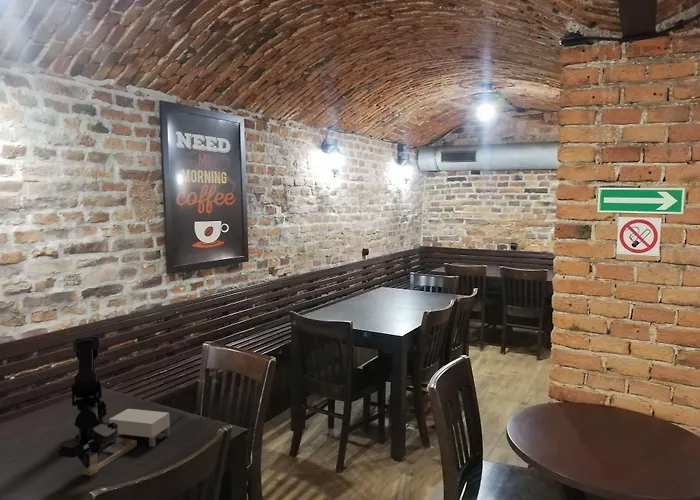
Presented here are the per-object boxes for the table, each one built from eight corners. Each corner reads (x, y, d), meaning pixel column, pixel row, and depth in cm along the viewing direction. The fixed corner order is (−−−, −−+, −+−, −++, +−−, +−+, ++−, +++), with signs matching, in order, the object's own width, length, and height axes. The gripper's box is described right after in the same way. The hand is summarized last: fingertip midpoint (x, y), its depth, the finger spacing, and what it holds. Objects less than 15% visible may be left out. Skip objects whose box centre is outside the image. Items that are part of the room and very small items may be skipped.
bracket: (150, 416, 207) (149, 409, 207) (183, 418, 204) (183, 411, 204) (128, 431, 193) (128, 424, 193) (164, 433, 190) (163, 426, 190)
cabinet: (110, 442, 183) (109, 419, 182) (129, 430, 192) (128, 408, 192) (153, 447, 178) (151, 423, 177) (170, 435, 187) (169, 412, 187)
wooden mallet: (67, 471, 162) (66, 453, 162) (117, 442, 182) (116, 426, 181) (90, 475, 159) (89, 457, 159) (138, 446, 179) (138, 429, 178)
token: (103, 453, 175) (103, 449, 175) (116, 445, 181) (116, 442, 181) (117, 455, 173) (116, 452, 173) (129, 447, 179) (129, 444, 179)
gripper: (86, 432, 148) (89, 483, 150) (129, 408, 166) (132, 454, 167) (55, 429, 151) (59, 479, 153) (101, 405, 169) (104, 450, 170)
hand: (90, 465), depth 161 cm, fingers closed on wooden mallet, 3 cm apart
